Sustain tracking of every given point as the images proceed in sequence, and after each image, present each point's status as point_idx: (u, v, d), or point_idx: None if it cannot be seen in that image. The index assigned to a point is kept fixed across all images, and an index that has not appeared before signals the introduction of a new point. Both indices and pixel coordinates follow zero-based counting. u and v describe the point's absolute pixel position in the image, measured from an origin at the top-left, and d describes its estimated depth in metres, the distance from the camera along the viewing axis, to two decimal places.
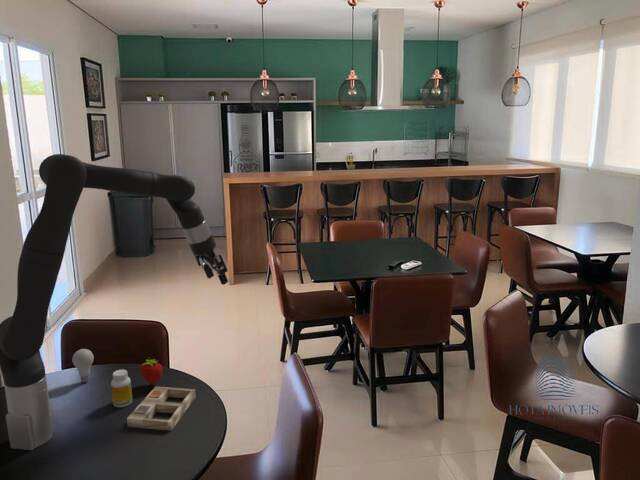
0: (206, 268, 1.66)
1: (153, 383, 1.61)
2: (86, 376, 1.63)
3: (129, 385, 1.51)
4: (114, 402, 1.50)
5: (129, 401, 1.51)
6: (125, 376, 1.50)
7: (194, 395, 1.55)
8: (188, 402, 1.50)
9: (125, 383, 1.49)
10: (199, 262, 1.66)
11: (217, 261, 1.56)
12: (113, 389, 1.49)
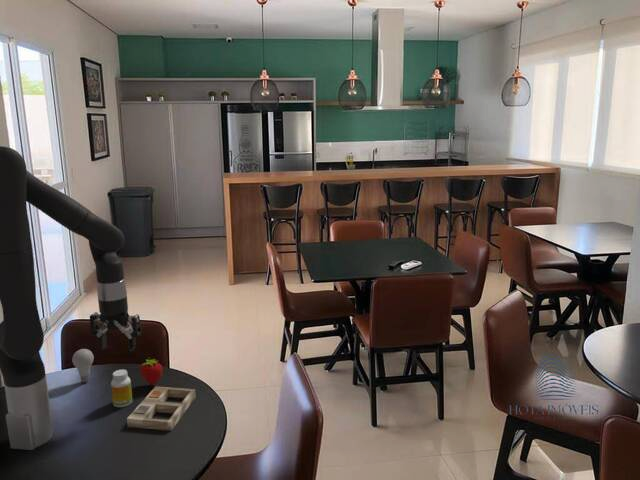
0: (102, 336, 1.48)
1: (153, 383, 1.61)
2: (86, 376, 1.63)
3: (129, 385, 1.51)
4: (114, 402, 1.50)
5: (129, 401, 1.51)
6: (125, 376, 1.50)
7: (194, 395, 1.55)
8: (188, 402, 1.50)
9: (125, 383, 1.50)
10: (94, 329, 1.47)
11: (136, 321, 1.45)
12: (113, 389, 1.49)
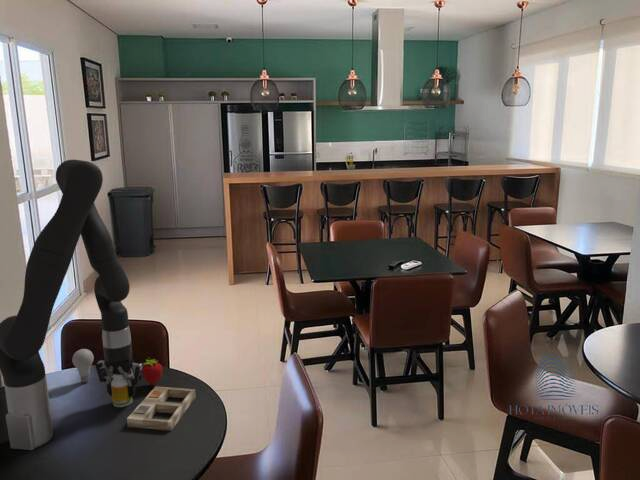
0: None
1: (153, 383, 1.61)
2: (86, 376, 1.63)
3: None
4: (114, 402, 1.50)
5: (129, 401, 1.51)
6: None
7: (194, 395, 1.55)
8: (188, 402, 1.50)
9: (125, 383, 1.50)
10: (103, 377, 1.50)
11: (140, 370, 1.49)
12: (113, 389, 1.49)
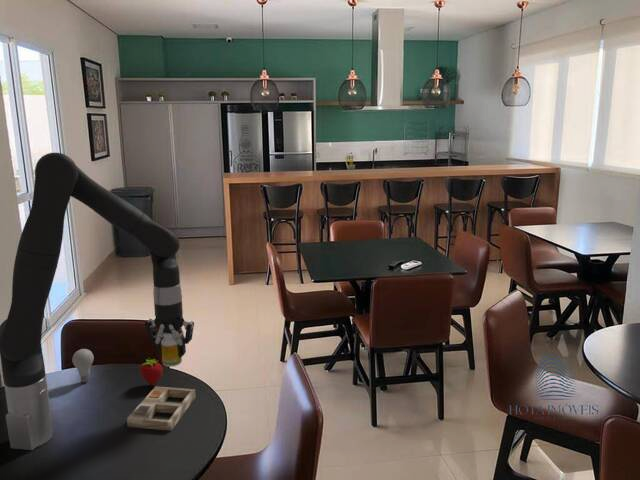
0: None
1: (153, 383, 1.61)
2: (86, 376, 1.63)
3: None
4: (164, 361, 1.47)
5: (179, 361, 1.48)
6: None
7: (194, 395, 1.55)
8: (188, 402, 1.50)
9: (176, 341, 1.46)
10: (152, 336, 1.47)
11: (191, 328, 1.45)
12: (163, 348, 1.46)
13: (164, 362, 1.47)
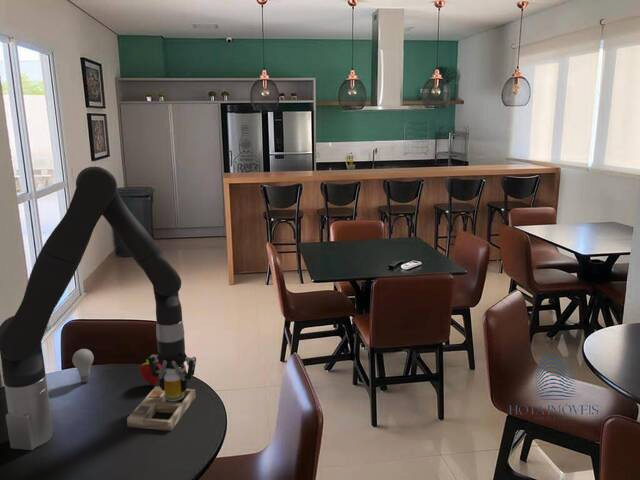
0: (163, 378, 1.50)
1: (153, 383, 1.61)
2: (86, 376, 1.63)
3: None
4: (167, 396, 1.49)
5: (182, 395, 1.51)
6: None
7: (194, 395, 1.55)
8: (188, 402, 1.50)
9: (178, 377, 1.49)
10: (155, 371, 1.50)
11: (193, 364, 1.48)
12: (166, 383, 1.48)
13: (167, 397, 1.49)
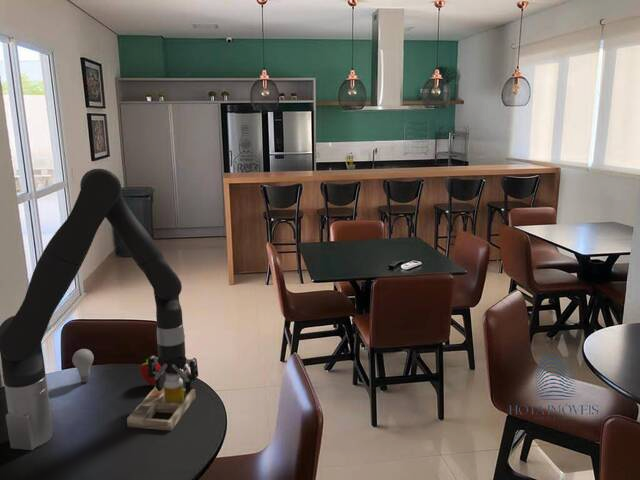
0: (159, 379, 1.51)
1: (153, 383, 1.61)
2: (86, 376, 1.63)
3: (182, 386, 1.51)
4: None
5: None
6: (178, 377, 1.50)
7: (194, 395, 1.55)
8: (188, 402, 1.50)
9: (178, 384, 1.49)
10: (152, 372, 1.50)
11: (194, 364, 1.48)
12: (166, 390, 1.49)
13: None
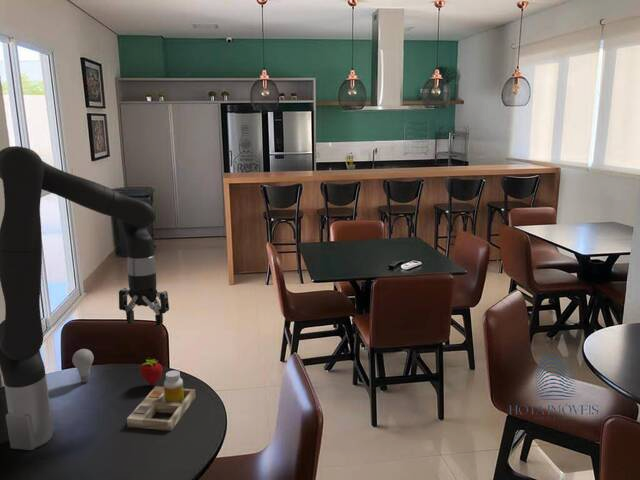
0: (130, 312, 1.50)
1: (153, 383, 1.61)
2: (86, 376, 1.63)
3: (182, 386, 1.51)
4: None
5: None
6: (178, 377, 1.50)
7: (194, 395, 1.55)
8: (188, 402, 1.50)
9: (178, 384, 1.49)
10: (123, 305, 1.49)
11: (164, 297, 1.47)
12: (166, 390, 1.49)
13: None
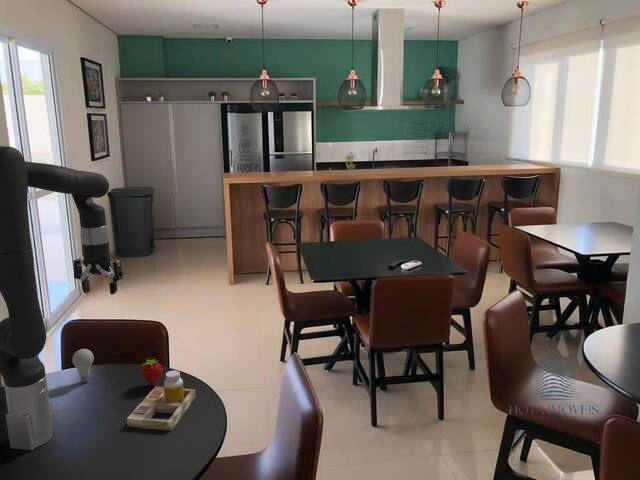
0: (85, 281, 1.56)
1: (153, 383, 1.61)
2: (86, 376, 1.63)
3: (182, 386, 1.51)
4: None
5: None
6: (178, 377, 1.50)
7: (194, 395, 1.55)
8: (188, 402, 1.50)
9: (178, 384, 1.49)
10: (78, 274, 1.55)
11: (117, 265, 1.53)
12: (166, 390, 1.49)
13: None
